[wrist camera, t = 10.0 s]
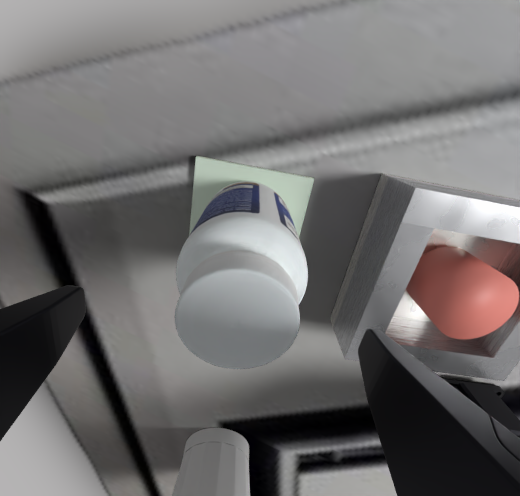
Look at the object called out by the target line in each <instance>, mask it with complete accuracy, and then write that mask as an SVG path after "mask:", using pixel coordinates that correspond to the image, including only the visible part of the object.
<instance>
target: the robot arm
mask: <svg viewBox="0 0 520 496" xmlns="http://www.w3.org/2000/svg"><path fill="white" fill-rule="evenodd" d="M85 312H86V305H85V294H84V289H83V288H82V287H78V286H71V285H67V286H64V287H61V288H58V289H56V290H53V291H50V292H47V293H44V294H42V295H39V296H36V297H33V298H30V299H28V300H25V301H22V302H19V303H16V304H13V305H11V306H8V307H5V308H2V309H0V441H1V440H2V438H3V437H4V435H5V434H6V432H7V431H8V430H9V428H10V427H11V425H12V424H13V423H14V421H15V420H16V419H17V417H18V416H19V415H20V413H21V412H22V411H23V409H24V408H25V406H26V405H27V404H28V402H29V401H30V399H31V398H32V397H33V395H34V394H35V393H36V391H37V390H38V389H39V387H40V386H41V384H42V383H43V382H44V380H45V379H46V378H47V376H48V375H49V373H50V372H51V371H52V369H53V368H54V366H55V365H56V364H57V362H58V360H59V359H60V357H61V356H62V354H63V352H64V351H65V349H66V347H67V345H68V344H69V342H70V340H71V338H72V337H73V335H74V333H75V332H76V330H77V328H78V326H79V325H80V323H81V321H82V319H83V318H84V315H85ZM358 356H359V361H360V366H361V371H362V376H363V381H364V386H365V391H366V395H367V399H368V403H369V406H370V410H371V413H372V416H373V419H374V422H375V426H376V429H377V432H378V435H379V438H380V442H381V445H382V448H383V451H384V454H385V458H386V461H387V464H388V467H389V470H390V474H391V477H392V480H393V483H394V486H395V490H396V493H397V496H520V420H519V419H518V418H517V417H516V416H515V415H514V414H513V412H512V411H511V410H510V409H509V408H508V407H507V406H506V404H505V403H504V402H503V401H502V400H501V397H502V396H503V395H504V391H503V390H502V389H501V387H500V386H495V385H487V384H480V383H473V382H465V381H458V380H450V379H443V378H441V377H440V376H438V375H437V374H436V373H435V372H433V371H432V370H431V369H429V368H428V367H427V366H426V365H424V364H423V363H422V362H420V361H419V360H418V359H417V358H415V357H414V356H413V355H411V354H410V353H409V352H408V351H406V350H405V349H404V348H402V347H401V346H400V345H399V344H397V343H396V342H395V341H393V340H392V339H391V338H390V337H388V336H387V335H386V334H384V333H383V332H382V331H380V330H375V329H367V330H366V331H365V333H364V336H363V338H362V340H361V343H360V345H359V348H358Z"/></svg>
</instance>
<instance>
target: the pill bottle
mask: <svg viewBox="0 0 520 496" xmlns="http://www.w3.org/2000/svg"><path fill="white" fill-rule="evenodd" d="M176 281H177V286H178V290H179V293H180V297H179V300H178V303H177V306H176V310H175V324H176V329H177V332H178V335H179V337H180V338H181V340H182V341H183V343H184V345H185V346H186V347H187V348H188V349H189V350H190V351H191V352H192V353H193V354H194V355H196V356H197V357H199V358H200V359H202V360H204V361H206V362H208V363H210V364H212V365H215V366H219V367H224V368H231V369H247V368H253V367H258V366H262V365H265V364H267V363H269V362H272V361H273V360H275V359H277V358H279V357H280V356H281V355H282V354H284V353H285V352H286V351H287V350H288V349H289V348H290V346H291V345H292V344H293V342H294V340H295V338H296V336H297V334H298V331H299V325H300V313H299V304H300V302H301V300H302V298H303V296H304V294H305V291H306V287H307V281H308V268H307V262H306V257H305V253H304V251H303V249H302V246H301V243H300V240H299V237H298V234H297V232H296V229H295V226H294V223H293V220H292V218H291V215H290V212H289V210H288V208H287V205H286V204H285V202H284V201H283V199H282V198H281V197H280V195H279V194H278V193H277V192H276V191H274V190H273V189H271V188H269V187H268V186H265V185H263V184H260V183H257V182H251V181H241V182H236V183H232V184H230V185H228V186H226V187H224V188H222V189H221V190H220V191H218V192H217V193H216V194H215V195H214V196H213V198H212V199H211V200H210V202H209V203H208V205H207V206H206V208H205V210H204V212H203V213H202V215H201V217H200V218H199V220H198V222H197V223H196V225H195V227H194V228H193V230H192V232H191V233H190V235H189V237H188V239H187V240H186V242H185V243H184V245H183V247H182V250H181V252H180V255H179V257H178V261H177V266H176Z"/></svg>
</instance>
